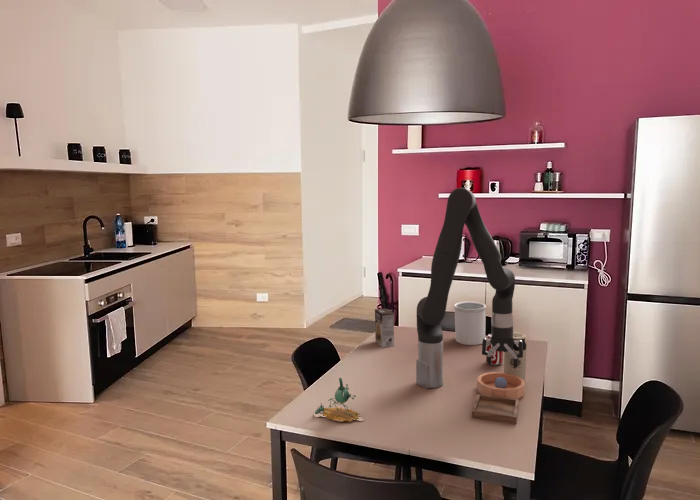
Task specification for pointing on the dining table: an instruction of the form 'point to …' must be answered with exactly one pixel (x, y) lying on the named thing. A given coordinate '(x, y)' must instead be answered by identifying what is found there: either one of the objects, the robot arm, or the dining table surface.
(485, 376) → the bowl
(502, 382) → the ball
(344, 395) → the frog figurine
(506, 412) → the tray
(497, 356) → the soda can
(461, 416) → the dining table surface
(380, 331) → the coffee box
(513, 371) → the travel mug
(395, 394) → the dining table surface
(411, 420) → the dining table surface
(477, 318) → the utensil holder
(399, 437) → the dining table surface
